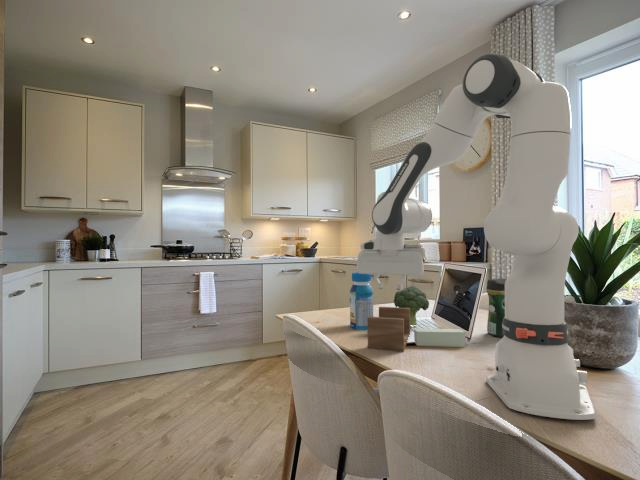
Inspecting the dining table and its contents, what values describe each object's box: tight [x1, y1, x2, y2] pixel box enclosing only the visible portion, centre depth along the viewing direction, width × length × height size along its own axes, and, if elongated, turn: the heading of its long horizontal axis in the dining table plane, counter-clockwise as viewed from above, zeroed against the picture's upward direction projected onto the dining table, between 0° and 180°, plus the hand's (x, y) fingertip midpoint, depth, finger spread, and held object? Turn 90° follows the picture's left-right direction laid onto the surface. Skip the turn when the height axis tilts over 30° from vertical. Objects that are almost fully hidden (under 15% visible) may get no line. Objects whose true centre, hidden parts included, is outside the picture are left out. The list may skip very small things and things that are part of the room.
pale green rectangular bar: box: [413, 328, 467, 348], centre depth 112 cm, size 14×4×4 cm, turn 86°
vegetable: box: [393, 285, 430, 326], centre depth 135 cm, size 12×13×15 cm
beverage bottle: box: [349, 271, 375, 331], centre depth 133 cm, size 8×8×20 cm
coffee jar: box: [486, 277, 507, 338], centre depth 124 cm, size 10×8×19 cm
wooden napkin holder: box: [367, 306, 411, 353], centre depth 116 cm, size 20×10×9 cm, turn 161°
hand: (389, 289), depth 116 cm, fingers open, 4 cm apart
